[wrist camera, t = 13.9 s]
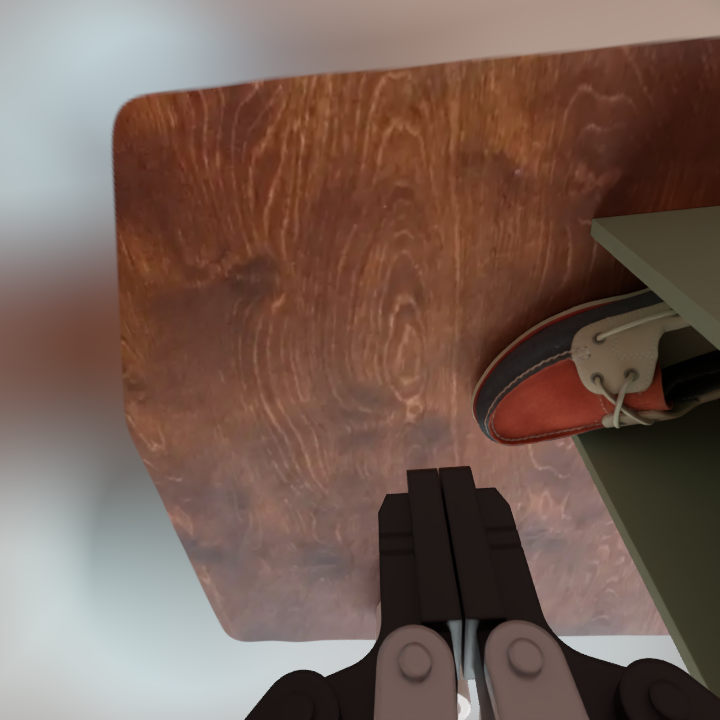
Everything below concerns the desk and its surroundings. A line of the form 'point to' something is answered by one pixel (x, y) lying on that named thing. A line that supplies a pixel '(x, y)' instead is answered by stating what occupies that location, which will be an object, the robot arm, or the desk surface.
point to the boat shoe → (596, 372)
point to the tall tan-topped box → (670, 441)
